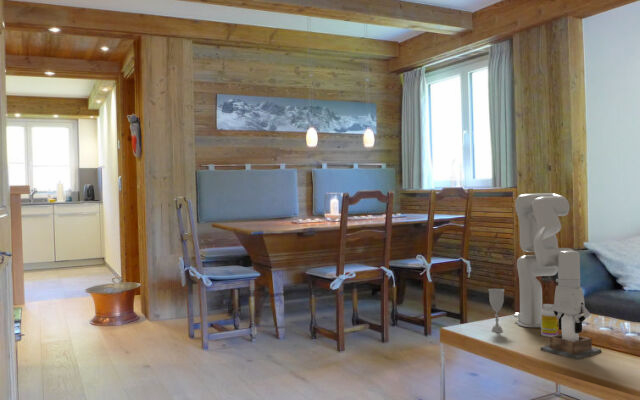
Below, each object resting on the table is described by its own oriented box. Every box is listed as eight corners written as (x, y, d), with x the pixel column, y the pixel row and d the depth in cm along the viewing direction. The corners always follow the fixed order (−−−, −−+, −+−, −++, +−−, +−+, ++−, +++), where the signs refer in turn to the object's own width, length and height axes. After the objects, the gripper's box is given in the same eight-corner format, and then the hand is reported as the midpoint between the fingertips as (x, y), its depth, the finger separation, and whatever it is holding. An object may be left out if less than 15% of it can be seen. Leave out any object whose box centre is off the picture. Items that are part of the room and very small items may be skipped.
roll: (559, 311, 202) (562, 308, 207) (560, 343, 202) (563, 339, 207) (577, 313, 199) (579, 310, 203) (577, 345, 199) (580, 341, 203)
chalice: (495, 328, 239) (494, 287, 239) (508, 331, 234) (508, 289, 234) (485, 331, 235) (484, 290, 235) (499, 334, 229) (498, 291, 229)
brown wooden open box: (540, 349, 205) (540, 336, 205) (564, 343, 213) (563, 330, 213) (577, 359, 192) (577, 345, 192) (601, 352, 200) (600, 338, 200)
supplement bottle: (560, 337, 221) (559, 306, 221) (542, 337, 223) (542, 306, 222) (556, 333, 228) (555, 303, 228) (539, 333, 229) (539, 303, 229)
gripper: (542, 281, 208) (543, 328, 208) (585, 287, 193) (586, 337, 193) (554, 279, 212) (555, 325, 212) (597, 285, 197) (598, 333, 197)
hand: (570, 330), depth 203 cm, fingers closed on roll, 5 cm apart
